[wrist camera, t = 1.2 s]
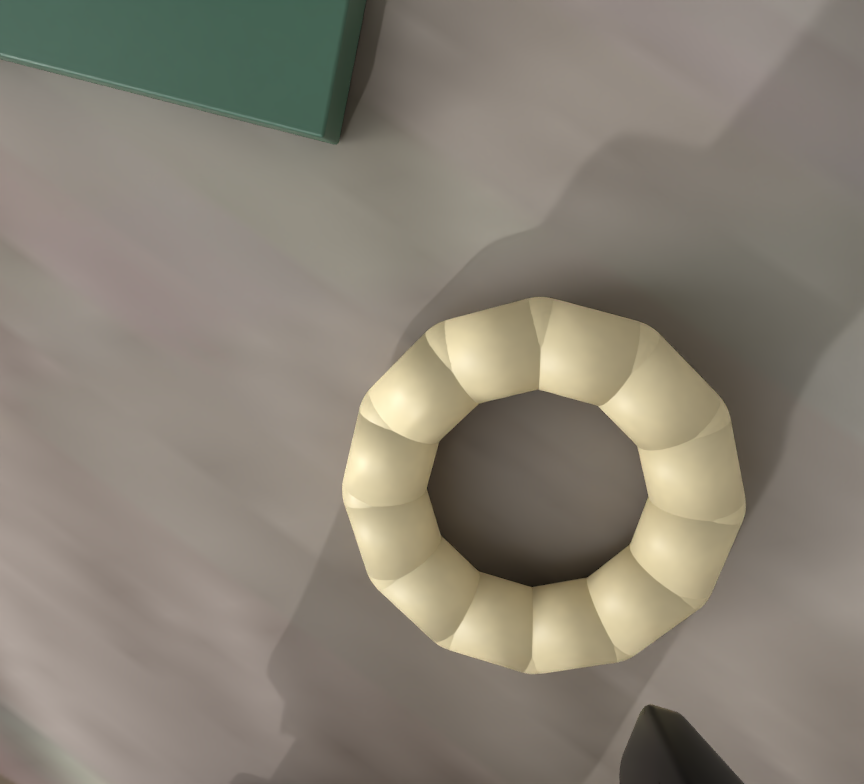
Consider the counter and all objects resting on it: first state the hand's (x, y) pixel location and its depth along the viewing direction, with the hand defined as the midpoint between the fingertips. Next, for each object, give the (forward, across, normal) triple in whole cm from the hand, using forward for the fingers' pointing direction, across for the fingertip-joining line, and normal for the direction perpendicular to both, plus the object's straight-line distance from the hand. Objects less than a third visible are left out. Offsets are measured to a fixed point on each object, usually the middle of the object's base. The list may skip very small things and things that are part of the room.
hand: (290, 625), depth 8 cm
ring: (+7, -4, 0) cm, 8 cm away
